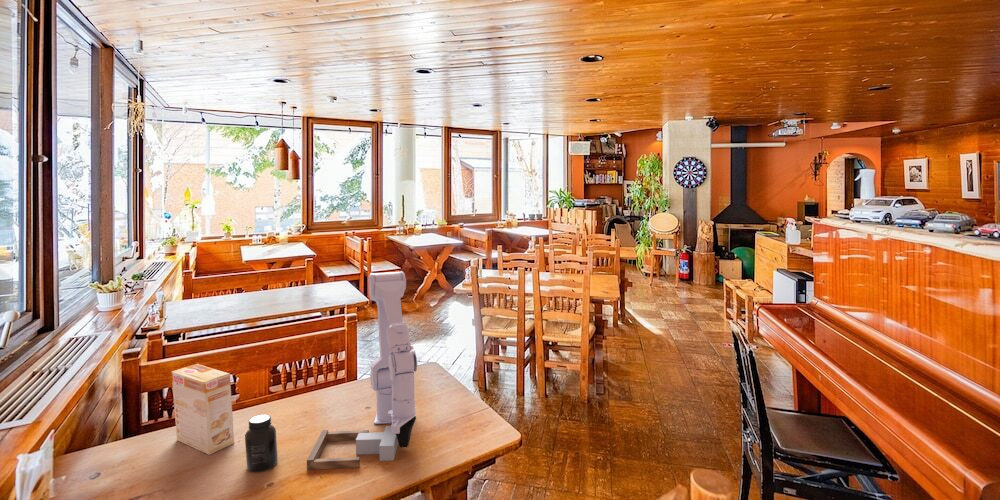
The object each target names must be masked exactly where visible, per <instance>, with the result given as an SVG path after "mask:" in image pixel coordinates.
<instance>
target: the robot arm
mask: <svg viewBox="0 0 1000 500" xmlns="http://www.w3.org/2000/svg"><path fill="white" fill-rule="evenodd" d="M367 282H368V297H369V300H370V301H373V302H375V304H376V308H377V321H378V325H377V326H378V341H379V345H378V346H379V356H378V357H377V358H376V359H375V360H374V361H373V362H372V363H371V365H370V377H369V378H370V385H371V389H372V390H373V391H374V392H376V396H375V397H376V414H375V418H374V421H373V424H374V425H382V424H384V425H385V424H390V426H391V433H394V434H396V436H397V440H398V447H400V448H408V447H409V445H410V440H411V435H412V431H413V428H414V427H413V426H414V425H415V422H416V420H417V416H416V400H415V398H416V397H415V373H416V372H417V369H418V359H417V354H416V351H415V348H414V345H412V343H411V337H410V331H409V327H408V326H407V325H406V323H404V322H403V314H402V301H401V299H402V298H403V297H404V295H405V291H406V289H407V278H406V274H405V272H404V271H402V270H399V271H387V272H370V273H369V274H368V281H367Z"/></svg>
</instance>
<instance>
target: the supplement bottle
mask: <svg viewBox="0 0 1000 500" xmlns="http://www.w3.org/2000/svg"><path fill="white" fill-rule="evenodd" d="M271 417H272V416H271V415H269V414H264V413H263V414H258V415H254V416H252V417H251V418H249V419H248V430H246V433H245V434H244V443H245V456H246V459H245V460H246V468H247V469H248V471H249V472H254V473H260V472H265V471H267V470H271V469H272V468H273V467H275V465H277V463H278V441H277V429H276V427H275V426H274V425H272V418H271Z"/></svg>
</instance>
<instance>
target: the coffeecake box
mask: <svg viewBox="0 0 1000 500" xmlns="http://www.w3.org/2000/svg"><path fill="white" fill-rule="evenodd" d="M171 382H172V384H171V385H172V395H173V407H174V419H175V433H176V434H175V435H176V440H177V441H178V442H180V443H182V444H184V445H187V446H189V447H190V448H191V447H192V448H194V449H195V450H197V451H200V452H202V453H204V454H206V455H208V456H209V455H212V454H214V453H216V452H218V451H220V450H222V449H225V448H227V447H229V446H232V445H233V444H235V437H234V436H235V435H234V418H233V404H232V403H233V401H232V389H231V388H232V387H231V373H229V372H225V371H222V370H218V369H216V368H212V367H208V366H206V365H203V364H199V363H195V364H192V365H188V366H185V367H182V368H179V369H175V370H172V371H171Z"/></svg>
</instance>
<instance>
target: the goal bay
mask: <svg viewBox="0 0 1000 500" xmlns="http://www.w3.org/2000/svg"><path fill="white" fill-rule="evenodd" d="M359 433H370V431H369V429H368V430H367V429H364V430H362V429H361V430H359V429H358V430H339V431H337V430H336V431H329V429H324V430H322V431H321V432H320V434H319V436H318V438H317V440H316V442H315V443H314V445H313V447H312V449H311V451H310V453H309V455H308V457H307V459H306V470H307V471H313V470H314V471H315V470H330V469H331V470H332V469H349V468H350V469H352V468H354V469H355V468H359V467H360V465H361V459H360V458H361V457H360V456H353V457H351V456H350V457H334V458H333V457H330V458H329V457H327V458H320V457H321V455H322V453H323V451H324V449H325V446H326V445H327V443H328V442H333V441H356V438H357V436H358V434H359Z"/></svg>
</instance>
